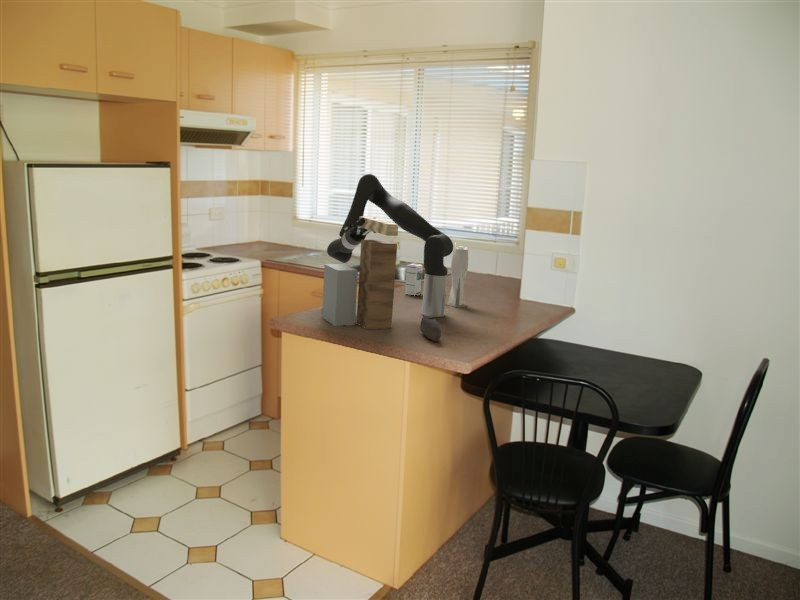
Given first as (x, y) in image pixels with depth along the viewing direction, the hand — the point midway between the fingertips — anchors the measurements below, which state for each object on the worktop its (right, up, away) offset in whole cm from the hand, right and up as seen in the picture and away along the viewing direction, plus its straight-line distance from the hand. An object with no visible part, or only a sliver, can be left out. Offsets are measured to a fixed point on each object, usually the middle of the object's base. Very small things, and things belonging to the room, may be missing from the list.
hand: (369, 219), depth 255 cm
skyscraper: (+37, -33, +47) cm, 68 cm away
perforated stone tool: (+23, -45, -13) cm, 52 cm away
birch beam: (+3, -5, -6) cm, 8 cm away
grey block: (-12, -39, +3) cm, 41 cm away
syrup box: (+18, -28, +64) cm, 72 cm away
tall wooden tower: (+2, -40, 0) cm, 40 cm away
